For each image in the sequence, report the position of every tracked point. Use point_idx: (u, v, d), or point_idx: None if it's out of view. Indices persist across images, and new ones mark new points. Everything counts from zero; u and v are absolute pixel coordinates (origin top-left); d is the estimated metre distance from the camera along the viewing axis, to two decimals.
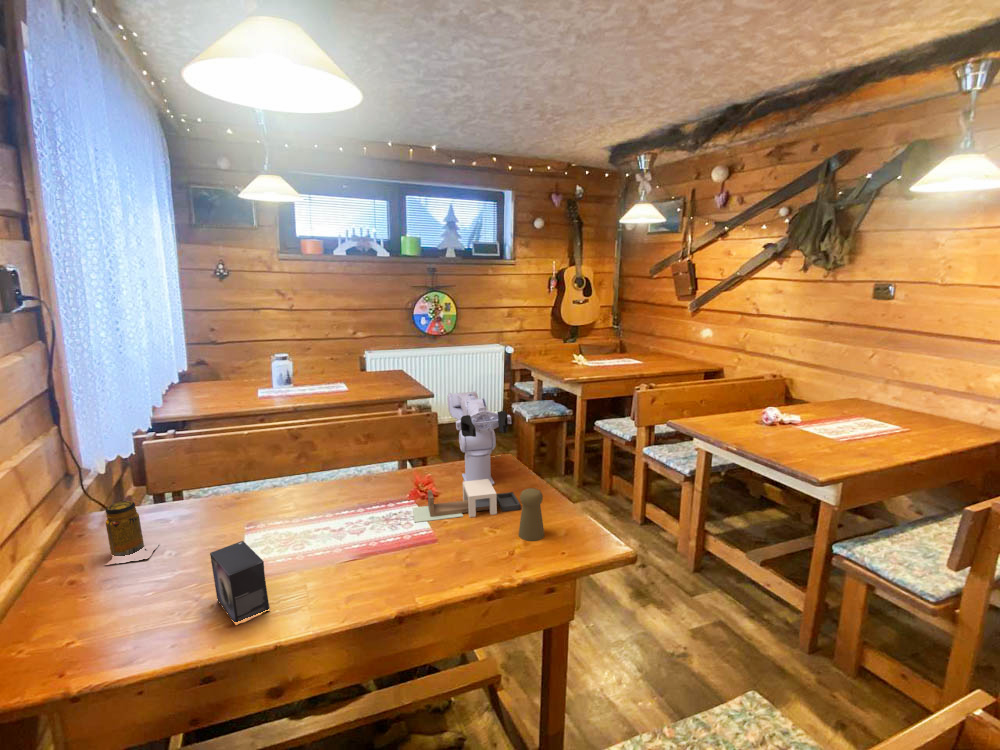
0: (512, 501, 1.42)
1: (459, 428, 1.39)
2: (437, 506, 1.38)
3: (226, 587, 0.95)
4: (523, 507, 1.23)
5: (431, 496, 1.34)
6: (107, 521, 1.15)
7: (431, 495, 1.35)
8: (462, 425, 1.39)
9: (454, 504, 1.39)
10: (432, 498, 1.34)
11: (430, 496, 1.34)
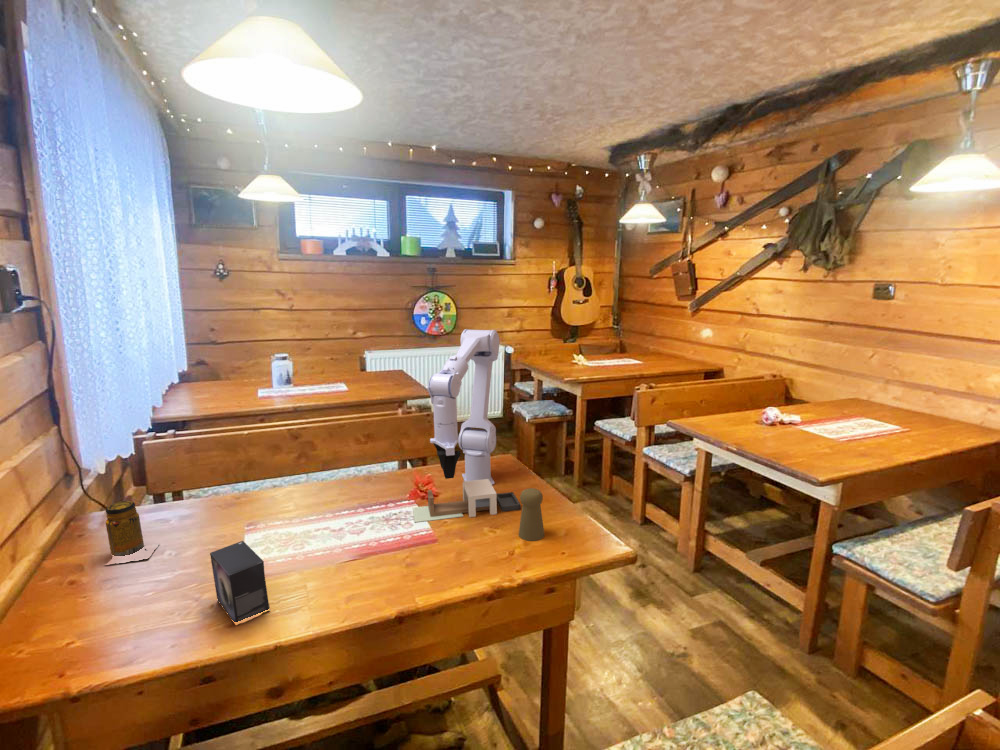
0: (512, 501, 1.42)
1: None
2: (437, 506, 1.38)
3: (226, 587, 0.95)
4: (523, 507, 1.23)
5: (431, 496, 1.34)
6: (107, 521, 1.15)
7: (431, 495, 1.35)
8: None
9: (454, 504, 1.39)
10: (432, 498, 1.34)
11: (430, 496, 1.34)
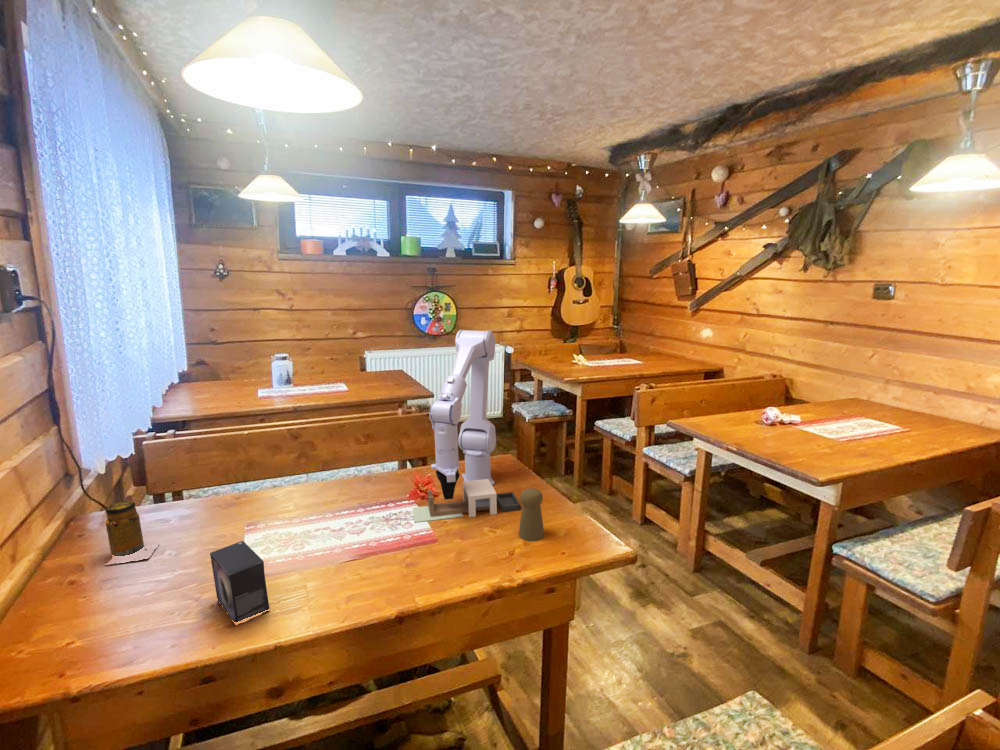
0: (512, 501, 1.42)
1: None
2: (437, 506, 1.38)
3: (226, 587, 0.95)
4: (523, 507, 1.23)
5: (431, 496, 1.34)
6: (107, 521, 1.15)
7: (431, 495, 1.35)
8: None
9: (454, 504, 1.39)
10: (432, 498, 1.34)
11: (430, 496, 1.34)
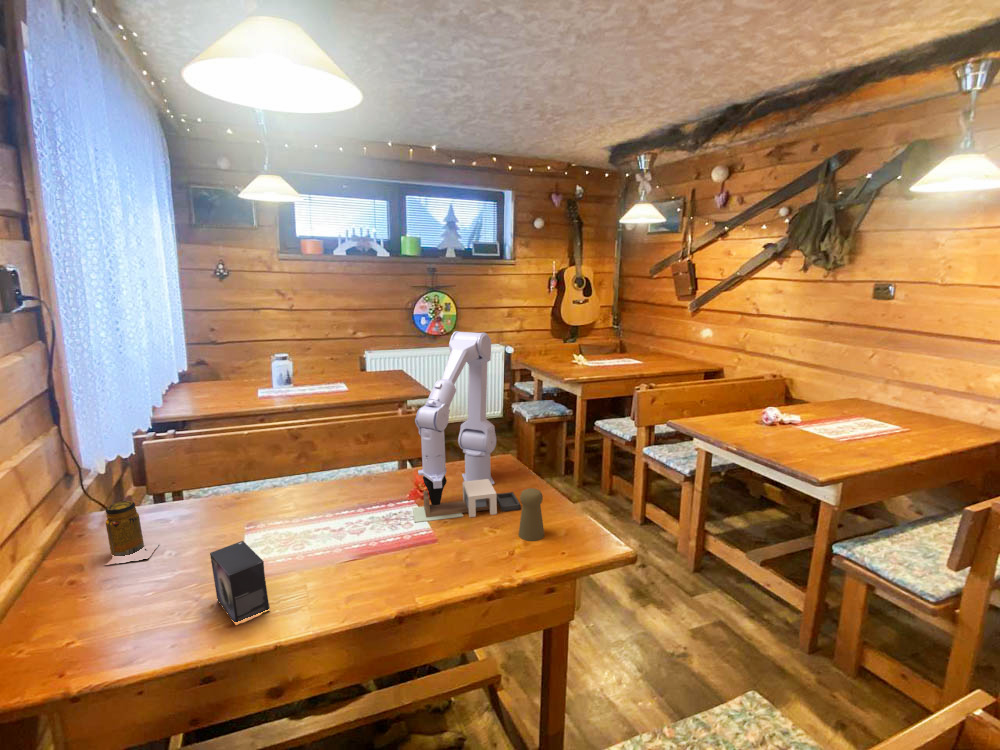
0: (512, 501, 1.42)
1: None
2: (432, 507, 1.37)
3: (226, 587, 0.95)
4: (523, 507, 1.23)
5: (427, 496, 1.34)
6: (107, 521, 1.15)
7: (427, 495, 1.34)
8: None
9: (450, 504, 1.38)
10: (428, 498, 1.33)
11: (426, 496, 1.34)
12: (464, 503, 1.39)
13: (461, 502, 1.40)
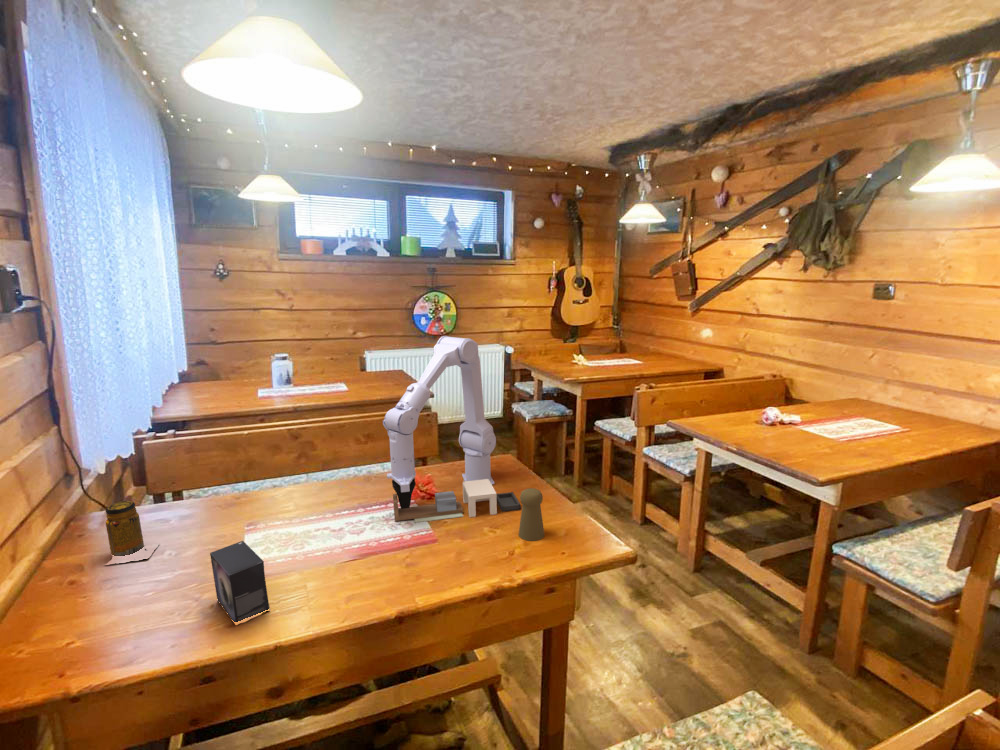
0: (512, 501, 1.42)
1: None
2: (402, 510, 1.36)
3: (226, 587, 0.95)
4: (523, 507, 1.23)
5: (395, 500, 1.32)
6: (107, 521, 1.15)
7: (395, 499, 1.33)
8: None
9: (420, 508, 1.37)
10: (396, 502, 1.32)
11: (394, 500, 1.32)
12: (434, 506, 1.37)
13: (431, 505, 1.38)
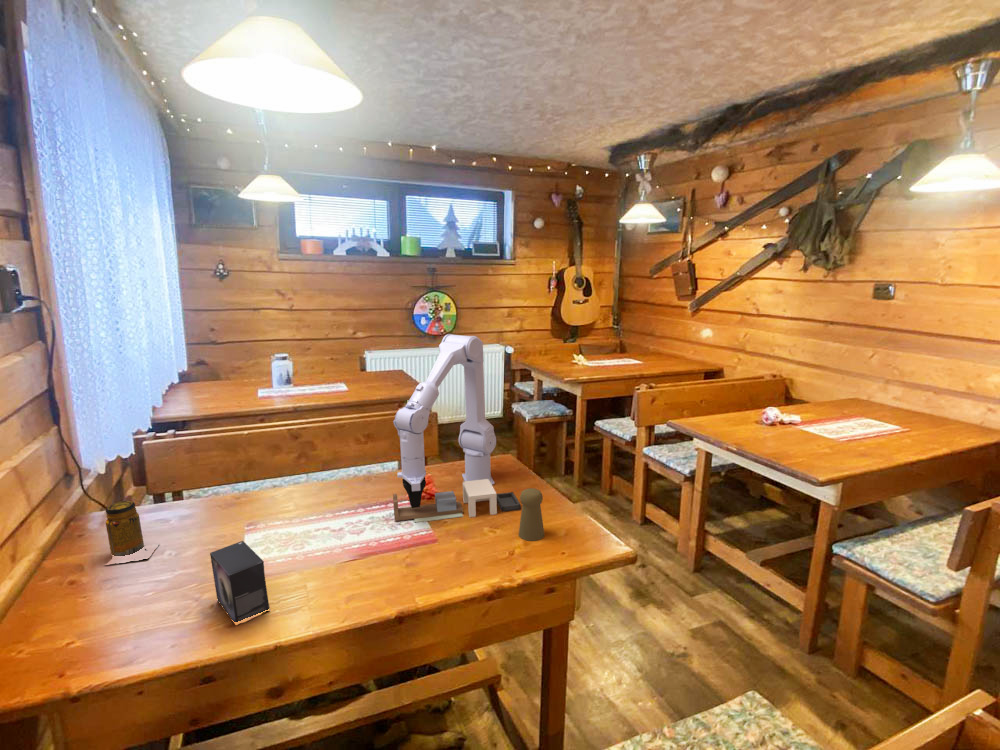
0: (512, 501, 1.42)
1: None
2: (402, 510, 1.36)
3: (226, 587, 0.95)
4: (523, 507, 1.23)
5: (395, 500, 1.32)
6: (107, 521, 1.15)
7: (395, 499, 1.33)
8: None
9: (420, 508, 1.37)
10: (396, 502, 1.32)
11: (394, 500, 1.32)
12: (434, 506, 1.37)
13: (431, 505, 1.38)
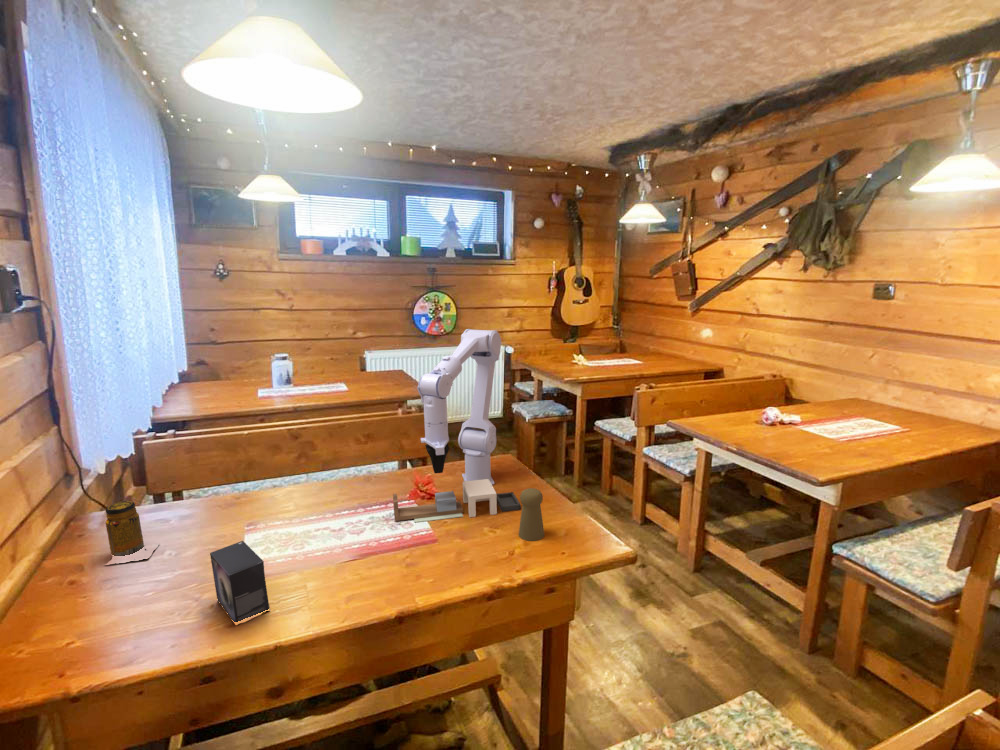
0: (512, 501, 1.42)
1: None
2: (402, 510, 1.36)
3: (226, 587, 0.95)
4: (523, 507, 1.23)
5: (395, 500, 1.32)
6: (107, 521, 1.15)
7: (395, 499, 1.33)
8: None
9: (420, 508, 1.37)
10: (396, 502, 1.32)
11: (394, 500, 1.32)
12: (434, 506, 1.37)
13: (431, 505, 1.38)
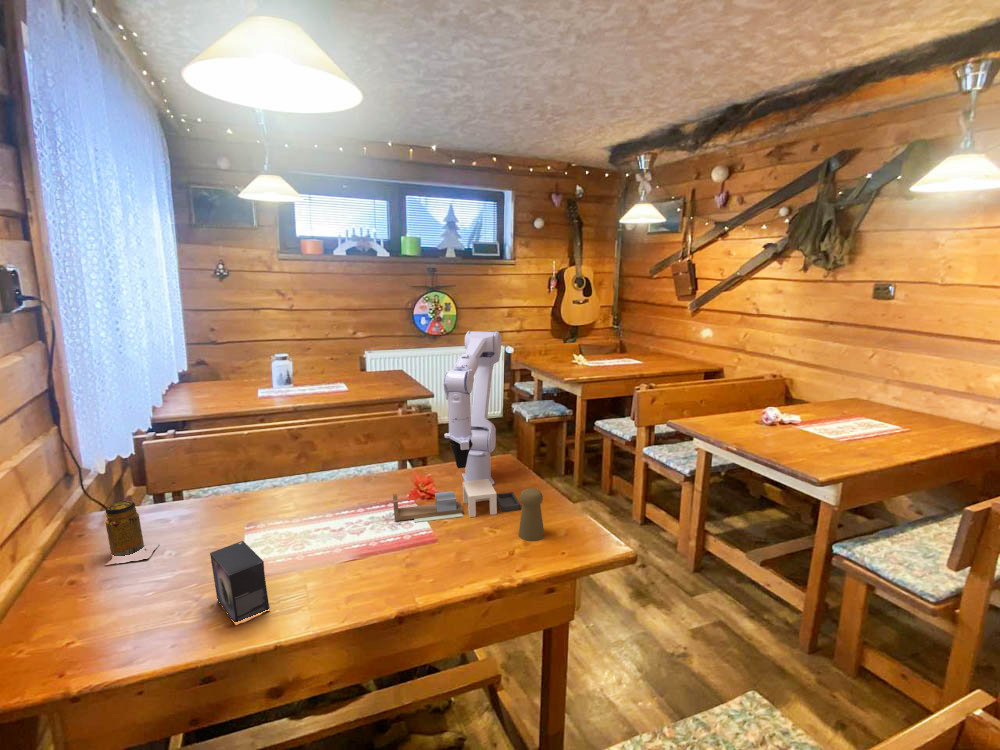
0: (512, 501, 1.42)
1: None
2: (402, 510, 1.36)
3: (226, 587, 0.95)
4: (523, 507, 1.23)
5: (395, 500, 1.32)
6: (107, 521, 1.15)
7: (395, 499, 1.33)
8: None
9: (420, 508, 1.37)
10: (396, 502, 1.32)
11: (394, 500, 1.32)
12: (434, 506, 1.37)
13: (431, 505, 1.38)
